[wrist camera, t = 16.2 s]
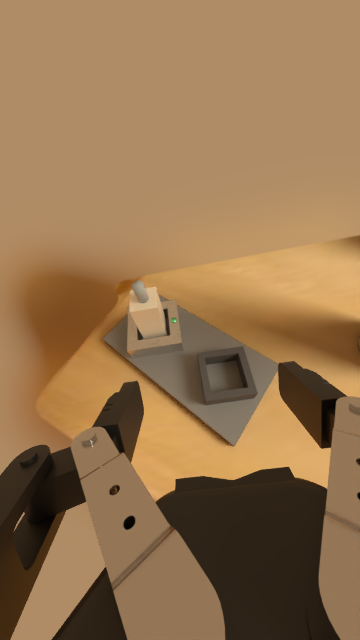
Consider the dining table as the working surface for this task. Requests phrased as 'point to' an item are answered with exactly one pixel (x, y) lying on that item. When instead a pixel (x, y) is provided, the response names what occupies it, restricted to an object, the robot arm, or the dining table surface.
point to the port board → (184, 375)
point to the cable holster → (244, 370)
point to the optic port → (158, 344)
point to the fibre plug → (147, 311)
